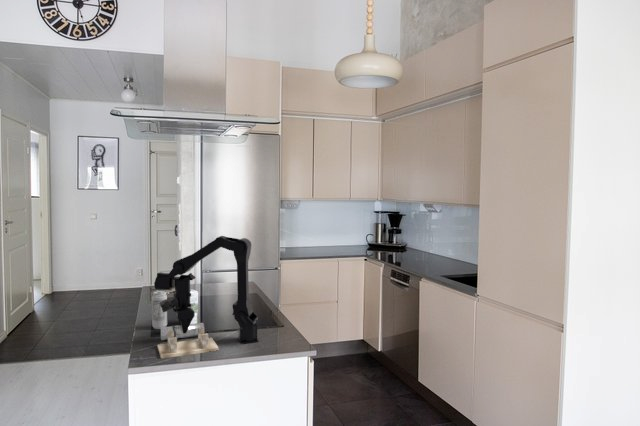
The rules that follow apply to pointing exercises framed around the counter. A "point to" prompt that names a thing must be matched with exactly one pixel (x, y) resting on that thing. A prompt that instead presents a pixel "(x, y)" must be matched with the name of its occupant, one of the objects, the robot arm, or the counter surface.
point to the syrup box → (194, 305)
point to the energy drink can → (158, 310)
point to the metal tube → (181, 331)
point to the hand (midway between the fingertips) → (182, 329)
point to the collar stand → (187, 345)
